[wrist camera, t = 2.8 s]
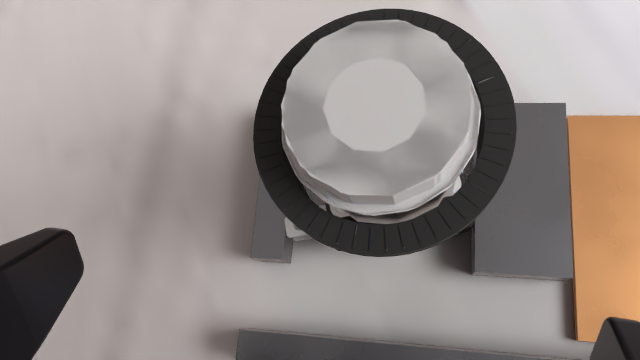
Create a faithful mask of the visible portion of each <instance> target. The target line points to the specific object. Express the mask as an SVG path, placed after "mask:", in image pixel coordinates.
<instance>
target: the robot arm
mask: <svg viewBox="0 0 640 360" xmlns="http://www.w3.org/2000/svg"><path fill="white" fill-rule="evenodd" d="M83 271H84V264H83V260H82V258H81V255H80V252H79V249H78V246H77V243H76V240H75V237H74V235H73V234H72V233H71V232H70V231H68V230H65V229H59V228H45V229H42V230H40V231H37V232H34V233H32V234H29V235H27V236H24V237H22V238H19V239H16V240H14V241H11V242H9V243H6V244H3V245H1V246H0V360H32V358H33V357H34V355H35V354H36V352H37V351H38V349H39V348H40V346H41V345H42V343H43V342H44V340H45V338H46V337H47V335H48V333H49V332H50V330H51V328H52V327H53V325H54V323H55V321H56V320H57V318H58V316H59V315H60V313H61V311H62V310H63V308H64V306H65V305H66V303H67V301H68V299H69V298H70V296H71V294H72V293H73V291H74V289H75V288H76V286H77V284H78V283H79V281H80V279H81V277H82V275H83ZM590 360H640V322H639V321H636V320H631V319H625V318H619V317H608V318H606V319H605V320H604V322H603V324H602V326H601V329H600V332H599V334H598V337H597V340H596V342H595V345H594V347H593V350H592V353H591V356H590Z"/></svg>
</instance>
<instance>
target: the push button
mask: <svg viewBox="0 0 640 360" xmlns="http://www.w3.org/2000/svg"><path fill="white" fill-rule="evenodd" d="M516 131H517V123H516V111H515V105H514V100H513V96H512V93H511V90H510V87H509V84H508V82H507V80H506V77H505V75H504V74H503V72H502V70H501V68H500V67H499V65H498V63H497V62H496V61H495V59H494V58H493V57H492V55H491V54H490V53H489V52H488V51H487V50H486V48H485V47H484V46H483V45H482V44H481V43H480V42H478V41H477V40H476V39H475V38H474V37H473V36H471V35H470V34H469V33H467V32H466V31H464V30H463V29H461V28H460V27H458V26H456V25H454V24H452V23H450V22H449V21H446V20H444V19H441V18H439V17H436V16H433V15H430V14H427V13H423V12H418V11H413V10H404V9H377V10H369V11H363V12H358V13H355V14H351V15H347V16H344V17H342V18H339V19H336V20H334V21H332V22H330V23H328V24H326V25H324V26H322V27H320V28H318V29H317V30H315V31H313V32H312V33H310V34H309V35H308V36H306V37H305V38H304V39H302V40H301V41H300V42H299V43H298V44H296V45H295V46H294V47H293V48H292V49H291V50H290V51H289V52H288V53H287V54H286V55H285V56H284V58H283V59H282V60H281V61H280V63H279V64H278V65H277V67H276V68H275V69H274V71H273V73H272V74H271V76H270V77H269V79H268V81H267V83H266V85H265V87H264V89H263V92H262V95H261V97H260V100H259V103H258V107H257V111H256V115H255V122H254V135H253V141H254V153H255V158H256V164H257V167H258V170H259V174H260V177H261V179H262V181H263V184H264V186H265V188H266V190H267V192H268V193H269V195H270V197H271V199H272V200H273V201H274V203H275V204H276V206H277V207H278V208H279V209H280V211H281V212H282V213H283V214H284V215H285V216H286V217H285V226H286V233H287V236H288V237H289V238H292V237H293V240H295V241H301V240H307V239H312V238H314V239H316V240H317V241H319V242H321V243H323V244H325V245H327V246H330V247H332V248H335V249H336V250H338V251H344V252H347V253H351V254H357V255H362V256H374V257H388V256H399V255H406V254H411V253H414V252H418V251H422V250H425V249H428V248H430V247H433V246H436V245H438V244H440V243H442V242H444V241H446V240H448V239H450V238H451V237H453V236H454V235H456V234H458V233H463V232H467V231H469V230H470V228H471V226H472V224H473V222H474V221H475V219H476V218H477V217H478V216H479V215H480V214H481V213H482V212H483V211H484V210H485V208H486V207H487V206H488V204H489V203H490V202H491V201H492V199H493V198H494V196H495V194H496V193H497V191H498V189H499V188H500V186H501V184H502V183H503V181H504V178H505V176H506V174H507V172H508V170H509V167H510V164H511V160H512V157H513V153H514V148H515V143H516ZM476 146H477V157H476V164H475V167H474V169H473V171H472V172H471V174H470V176H469V177H468V179H467V180H465V177H464V173H463V169H464V168H465V166H466V165H467V163H468V162H469V160H470V159H471V157H472V156H473V153H474V151H475V149H476ZM303 184H304V185H305V186H306V187H307V188H308V189H310V190H311V191H312V192H313V193H314V194H316V195H317V196H318V197H319V198H320V199H322V200H323V201H324V202H325V204H324V205H319V206H318V205H316V204H315V203H314V202H312V200H311V199H310V197H309V196H308V194H307V192H306V191H305V188H304V186H303ZM300 229H301V230H300Z"/></svg>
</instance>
